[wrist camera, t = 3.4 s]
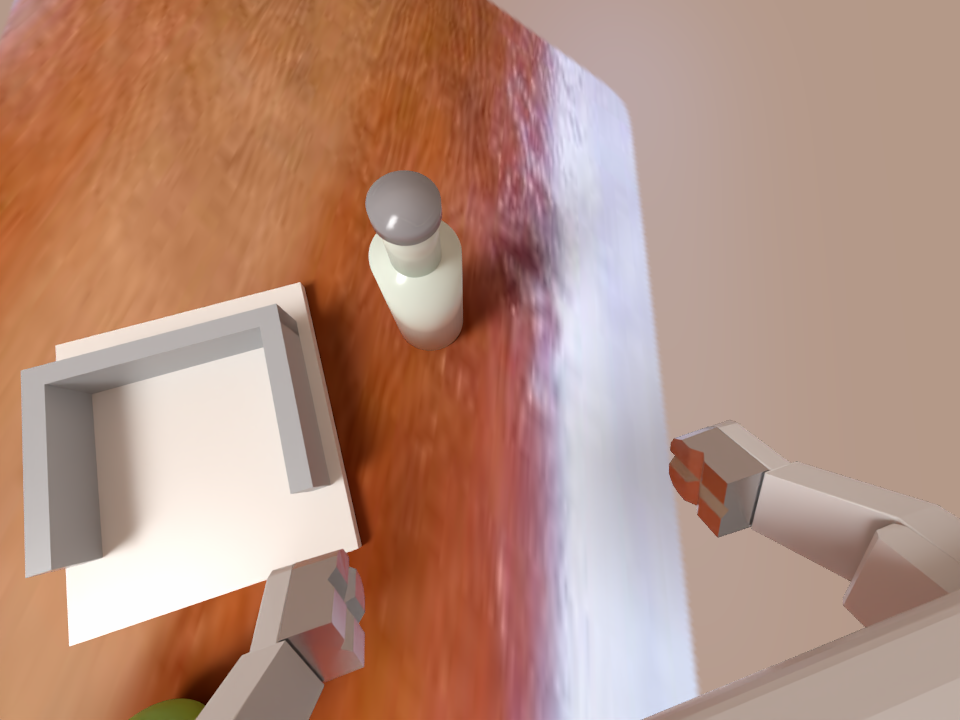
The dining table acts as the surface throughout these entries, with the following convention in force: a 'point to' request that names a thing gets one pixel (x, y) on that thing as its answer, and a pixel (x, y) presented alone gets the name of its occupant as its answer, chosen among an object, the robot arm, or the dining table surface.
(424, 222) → the pale green bottle
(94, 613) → the u stand
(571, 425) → the dining table surface
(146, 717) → the snail figurine
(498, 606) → the dining table surface
